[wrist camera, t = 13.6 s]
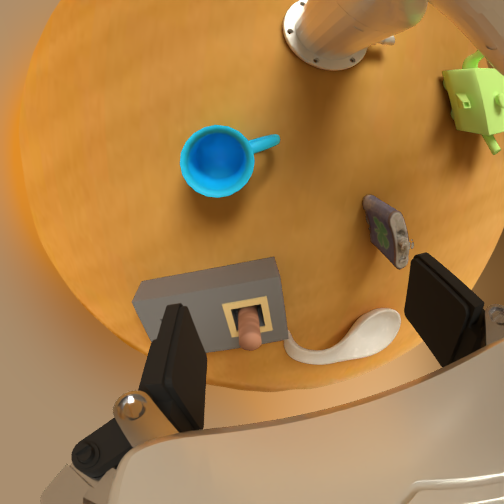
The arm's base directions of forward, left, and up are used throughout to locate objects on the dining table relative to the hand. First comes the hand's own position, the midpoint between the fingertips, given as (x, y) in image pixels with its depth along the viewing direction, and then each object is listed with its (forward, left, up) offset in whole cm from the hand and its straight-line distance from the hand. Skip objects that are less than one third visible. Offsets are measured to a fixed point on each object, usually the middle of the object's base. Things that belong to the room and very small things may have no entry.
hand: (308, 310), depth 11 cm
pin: (+5, +19, -29) cm, 35 cm away
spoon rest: (-12, +32, -31) cm, 46 cm away
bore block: (+10, +19, -30) cm, 37 cm away
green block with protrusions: (-40, -11, -31) cm, 52 cm away
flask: (-18, +10, -31) cm, 37 cm away
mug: (+2, -4, -31) cm, 31 cm away
